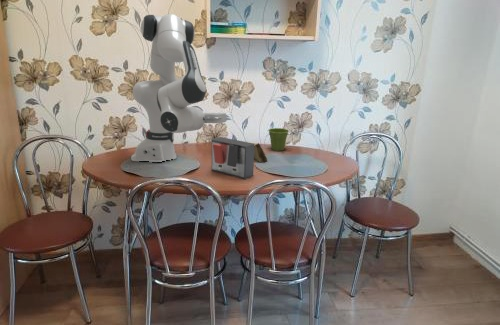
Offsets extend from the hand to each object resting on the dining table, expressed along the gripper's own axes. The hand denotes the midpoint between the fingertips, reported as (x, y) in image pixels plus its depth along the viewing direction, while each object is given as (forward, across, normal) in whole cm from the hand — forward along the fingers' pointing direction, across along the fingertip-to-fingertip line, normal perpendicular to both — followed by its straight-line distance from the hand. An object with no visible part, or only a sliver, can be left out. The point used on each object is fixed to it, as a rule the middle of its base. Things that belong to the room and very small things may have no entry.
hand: (210, 116), depth 148 cm
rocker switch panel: (+13, -3, +27) cm, 30 cm away
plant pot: (+62, -9, +22) cm, 67 cm away
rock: (+38, -7, +25) cm, 46 cm away
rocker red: (+9, +1, +21) cm, 23 cm away
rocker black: (+6, -6, +22) cm, 23 cm away
